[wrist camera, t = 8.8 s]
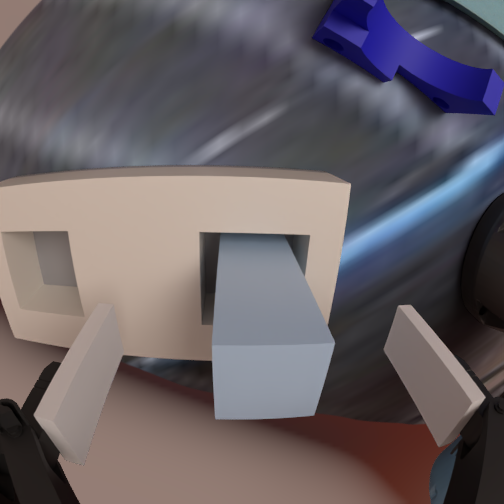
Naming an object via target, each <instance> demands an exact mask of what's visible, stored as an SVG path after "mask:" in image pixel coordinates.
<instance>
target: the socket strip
mask: <svg viewBox="0 0 504 504" xmlns="http://www.w3.org/2000/svg"><path fill="white" fill-rule="evenodd" d="M350 188H351V184H350V183H348V182H346V181H344V180H342V179H340V178H338V177H336V176H334V175H331V174H329V173H327V172H325V171H316V170H303V169H289V168H273V167H252V166H220V165H161V166H129V167H109V168H93V169H80V170H68V171H58V172H48V173H39V174H31V175H23V176H16V177H13V178H10V179H7V180H4V181H1V182H0V298H1V301H2V304H3V307H4V310H5V313H6V315H7V318H8V321H9V324H10V326H11V329H12V331H13V334H14V336H15V338H19V339H24V340H29V341H34V342H39V343H44V344H50V345H56V346H61V347H68V348H71V346H72V344H73V343H74V341H75V339H76V338H77V336H78V334H79V333H80V331H81V330H82V328H83V326H84V325H85V323H86V322H87V320H88V318H89V317H90V315H91V314H92V312H93V311H94V309H95V308H96V306H97V305H98V303H104V304H114V309H115V314H116V319H117V323H118V328H119V333H120V337H121V341H122V345H123V349H124V353H123V355H130V356H140V357H152V358H166V359H183V360H209V361H212V334H213V319H214V305H215V292H216V280H217V267H218V256H219V245H220V234H221V232H222V233H263V234H284V236H285V238H286V240H287V242H288V244H289V246H290V248H291V250H292V252H293V254H294V256H295V258H296V260H297V262H298V264H299V266H300V269H301V271H302V273H303V275H304V277H305V279H306V281H307V283H308V285H309V287H310V290H311V292H312V294H313V296H314V298H315V300H316V302H317V304H318V307H319V309H320V311H321V313H322V315H323V317H324V320H325V322H326V324H327V325H328V320H329V315H330V311H331V306H332V301H333V296H334V291H335V285H336V280H337V275H338V269H339V263H340V257H341V251H342V245H343V239H344V232H345V226H346V219H347V211H348V204H349V196H350Z"/></svg>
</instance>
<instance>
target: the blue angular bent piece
mask: <svg viewBox="0 0 504 504" xmlns="http://www.w3.org/2000/svg"><path fill="white" fill-rule="evenodd" d="M312 38H313V39H315V40H316V41H318V42H320V43H322V44H324V45H325V46H327V47H329V48H331V49H332V50H334V51H336V52H338V53H339V54H341V55H343V56H344V57H346V58H347V59H349V60H351V61H352V62H354V63H355V64H357V65H359V66H360V67H362V68H363V69H365V70H366V71H368V72H369V73H371V74H372V75H374V76H375V77H376V78H378V79H379V80H381V81H382V82H387V81H391V80H392V79H393V77H394V75H395V73H396V72H398V73H399V74H400V75H401V76H403V77H404V78H405V79H407V80H408V81H409V82H410V83H412V84H413V85H414V86H415V87H417V88H418V89H419V90H420V91H421V92H423V93H424V94H425V95H426V96H427V97H428V98H430V99H431V100H432V101H433V102H434V103H435V104H436V105H438V106H439V107H440V108H441V109H442V110H443V111H444V112H445V113H467V114H484V115H495V113H496V110H497V107H498V104H499V101H500V97H501V94H502V91H503V87H504V82H503V81H502V80H501V79H500V77H499V76H498V75H497V74H496V72H495V71H494V70H493V69H480V68H475V67H471V66H467V65H464V64H461V63H458V62H456V61H453V60H451V59H449V58H446V57H444V56H442V55H440V54H439V53H437V52H435V51H433V50H431V49H430V48H428V47H427V46H425V45H424V44H422V43H421V42H419V41H418V40H416V39H415V38H414V37H412V36H411V35H410V34H409V33H408V32H406V31H405V30H404V29H403V28H402V27H401V26H400V25H399V24H398V23H397V22H396V21H395V19H394V18H393V17H392V16H391V14H390V13H389V11H388V10H387V8H386V6H385V4H384V1H383V0H334V1H333V3H332V4H331V6H330V8H329V9H328V11H327V13H326V14H325V16H324V18H323V19H322V21H321V23H320V25H319V26H318V28H317V30H316V32H315V33H314V35H313V37H312Z"/></svg>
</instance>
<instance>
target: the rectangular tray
mask: <svg viewBox="0 0 504 504" xmlns="http://www.w3.org/2000/svg"><path fill="white" fill-rule="evenodd" d="M444 1H446V2H447V3H449V4H451V5H453V6H454V7H456V8H457V9H459V10H461V11H462V12H464V13H465V14H467V15H469V16H470V17H472V18H473V19H475V20H476V21H478V22H479V23H480V24H482V25H483V26H485V27H486V28H488V29H489V30H490V31H492V32H493V33H494V34H496V35H497V36H498V37H500V38H501V39H502V40H504V0H444Z"/></svg>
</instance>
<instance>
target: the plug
mask: <svg viewBox="0 0 504 504" xmlns="http://www.w3.org/2000/svg"><path fill="white" fill-rule="evenodd" d="M334 345H335V341H334V339H333V337H332V335H331V333H330V330H329V328H328V326H327V324H326V322H325V320H324V317H323V315H322V313H321V311H320V309H319V307H318V304H317V302H316V300H315V298H314V296H313V294H312V292H311V290H310V287H309V285H308V283H307V281H306V279H305V277H304V275H303V273H302V271H301V269H300V266H299V264H298V262H297V260H296V258H295V256H294V254H293V252H292V250H291V248H290V246H289V244H288V242H287V240H286V238H285V236H284V234H263V233H222V232H221V234H220V245H219V256H218V267H217V280H216V292H215V305H214V319H213V334H212V365H213V388H214V406H215V419H274V418H290V417H302V416H314V414H315V411H316V408H317V405H318V401H319V398H320V395H321V391H322V388H323V385H324V381H325V378H326V374H327V371H328V367H329V364H330V360H331V356H332V353H333V349H334Z"/></svg>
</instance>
